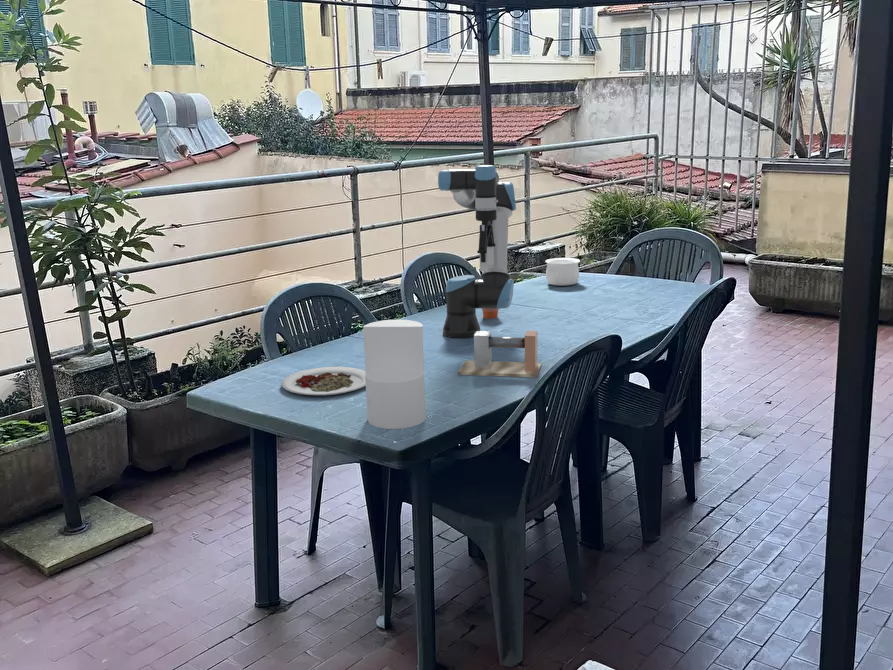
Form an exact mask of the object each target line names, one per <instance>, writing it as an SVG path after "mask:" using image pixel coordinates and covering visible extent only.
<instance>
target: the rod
mask: <svg viewBox="0 0 893 670" xmlns="http://www.w3.org/2000/svg"><path fill="white" fill-rule="evenodd" d="M489 347H491V348H504V349H505V348H506V349H507V348H509V349H510V348H511V349H525V337H521V336H520V337H516V336H515V337H514V336H512V337H510V336H507V337H506V336H491V337H489Z"/></svg>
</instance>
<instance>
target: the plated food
mask: <svg viewBox="0 0 893 670" xmlns="http://www.w3.org/2000/svg"><path fill="white" fill-rule="evenodd" d="M365 374H366V372H365V369H360V368H355V367H347V366H325V367H317V368H316V367H315V368H310V369H304V370H301V371H297V372H294V373H292V374H290V375H288V376H286V377H284V379H283V380H282V381H281V387H282V388H283V389H284V390H286V391H288V392H291V393H294V394H297V395H306V396H307V395H308V396H334V395H340V394H346V393H348V392H352V391H357V390H359V389H362V388H364V387H366V381H365Z"/></svg>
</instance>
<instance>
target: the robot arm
mask: <svg viewBox="0 0 893 670" xmlns="http://www.w3.org/2000/svg"><path fill="white" fill-rule="evenodd" d="M437 174H438V175H437V177H438V178H437V183H438V188H439V191H446V192H448V191H450V193H451V194H452V197H453V199H454V202H456V203H457V204H458V205H459V206H461V207H463V208H465V209H468V210H472V211H475V220H476V221H477V222H481V224H480V225H479V236H478V237H479V239H478V250H477V253H476V254H479V271H480V272H482V273H481V276H480V277H481V278H480V279H477V278H476V276H475V275H473V274H464V275H458V276H454V277H451V278H449V279H447V281H446V283H445V284H446V285H445V286H446V287H445V293H446V295H445V296H446V300H445V301H446V316H445V321H444V324H443V327H442V335H444V336H445V337H447V338H448V337H449V338H454V339H455V338H456V339H458V338H459V339H465V338H466V339H467V338H474V334H475V333H476V332H477V331H481V326H480V324H479V320H478V317H477V312H476V311H477V309H481V310H482V309H508V308H509V307H510V306H511V305H512V300H513V297H514V296H513V295H514V288H515V287H514V286H515V282H514V279H512V278H511V275H510V273H509V272H507V270H508V245H509V244H508V243H509V242H508V241H509V239H508V238H509V218H511V216H513V212H514V211H516V210H517V207H516V206H517V204H516V197H515V195H516V194H515V187H514V183H512V182H510V181H500V177H499V173H498V172H497V169H496V166H495V165H492V164H482V165H476V166H475V168H474V169H444V170H443V169H441V170H439V171H438V173H437Z"/></svg>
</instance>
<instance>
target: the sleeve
mask: <svg viewBox="0 0 893 670" xmlns="http://www.w3.org/2000/svg"><path fill="white" fill-rule="evenodd" d="M489 337H492V331H491V330H487V331H486V330H480V331H477V332H476V333H475V334H474V337H473V352H474V353H473V355H474V356H473V359H474V360H473V361H474V368H475V369H489V368H490V366H491V365H492V361H493V360H492V347H489Z"/></svg>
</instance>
